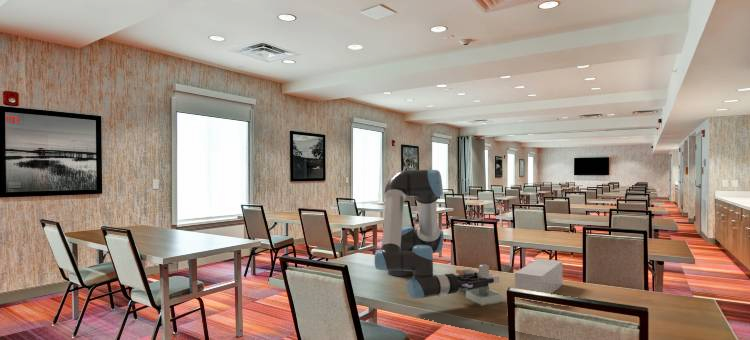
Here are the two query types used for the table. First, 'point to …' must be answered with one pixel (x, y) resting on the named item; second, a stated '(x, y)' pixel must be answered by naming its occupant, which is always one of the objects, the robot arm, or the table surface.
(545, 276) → the light grey block
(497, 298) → the parts tray
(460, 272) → the crank housing
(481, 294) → the stop pin
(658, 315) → the table surface
